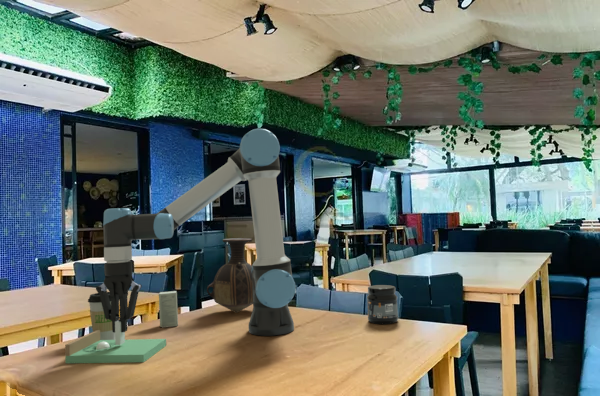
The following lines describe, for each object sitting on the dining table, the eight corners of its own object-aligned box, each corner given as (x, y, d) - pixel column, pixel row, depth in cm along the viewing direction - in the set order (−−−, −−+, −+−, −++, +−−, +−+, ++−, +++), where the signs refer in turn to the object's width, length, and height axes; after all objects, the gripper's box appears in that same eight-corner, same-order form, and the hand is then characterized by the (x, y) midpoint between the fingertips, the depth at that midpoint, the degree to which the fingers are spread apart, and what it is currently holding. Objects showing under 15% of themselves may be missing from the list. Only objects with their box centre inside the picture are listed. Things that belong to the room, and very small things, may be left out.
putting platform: (166, 345, 136) (165, 328, 137) (143, 362, 120) (143, 343, 121) (96, 346, 138) (96, 330, 138) (65, 363, 122) (65, 344, 122)
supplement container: (376, 317, 164) (374, 284, 165) (403, 319, 158) (401, 285, 159) (362, 323, 156) (361, 288, 156) (390, 326, 150) (388, 290, 150)
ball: (114, 344, 131) (104, 337, 131) (108, 347, 128) (98, 340, 128) (107, 355, 131) (97, 348, 131) (101, 358, 127) (91, 351, 128)
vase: (202, 317, 174) (200, 240, 176) (219, 308, 194) (217, 238, 195) (259, 317, 171) (257, 238, 172) (271, 307, 190) (268, 236, 191)
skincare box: (178, 323, 166) (177, 290, 166) (177, 326, 161) (176, 292, 162) (160, 325, 164) (159, 291, 165) (159, 328, 160) (158, 293, 161)
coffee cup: (109, 345, 139) (108, 296, 140) (81, 344, 141) (80, 296, 142) (127, 336, 149) (126, 291, 150) (101, 336, 151) (100, 291, 152)
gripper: (145, 259, 134) (147, 339, 133) (103, 260, 135) (105, 340, 134) (134, 261, 126) (136, 346, 125) (89, 263, 127) (91, 347, 126)
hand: (120, 343), depth 129 cm, fingers closed
